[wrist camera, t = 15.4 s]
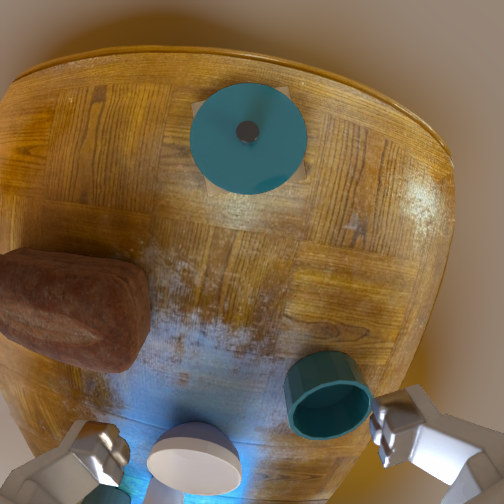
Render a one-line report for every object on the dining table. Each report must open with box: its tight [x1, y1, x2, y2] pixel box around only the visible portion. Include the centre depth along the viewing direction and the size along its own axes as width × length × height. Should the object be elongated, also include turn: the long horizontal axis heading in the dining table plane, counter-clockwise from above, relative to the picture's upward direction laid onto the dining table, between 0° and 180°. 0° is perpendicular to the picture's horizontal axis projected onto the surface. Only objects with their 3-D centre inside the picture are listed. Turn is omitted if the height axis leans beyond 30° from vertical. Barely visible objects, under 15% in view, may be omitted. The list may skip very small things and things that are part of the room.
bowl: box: [147, 422, 242, 495], centre depth 42 cm, size 16×16×10 cm
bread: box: [0, 248, 150, 373], centre depth 34 cm, size 14×28×12 cm, turn 85°
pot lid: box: [190, 83, 307, 195], centre depth 31 cm, size 14×14×5 cm
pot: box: [284, 351, 374, 440], centre depth 39 cm, size 12×12×8 cm
